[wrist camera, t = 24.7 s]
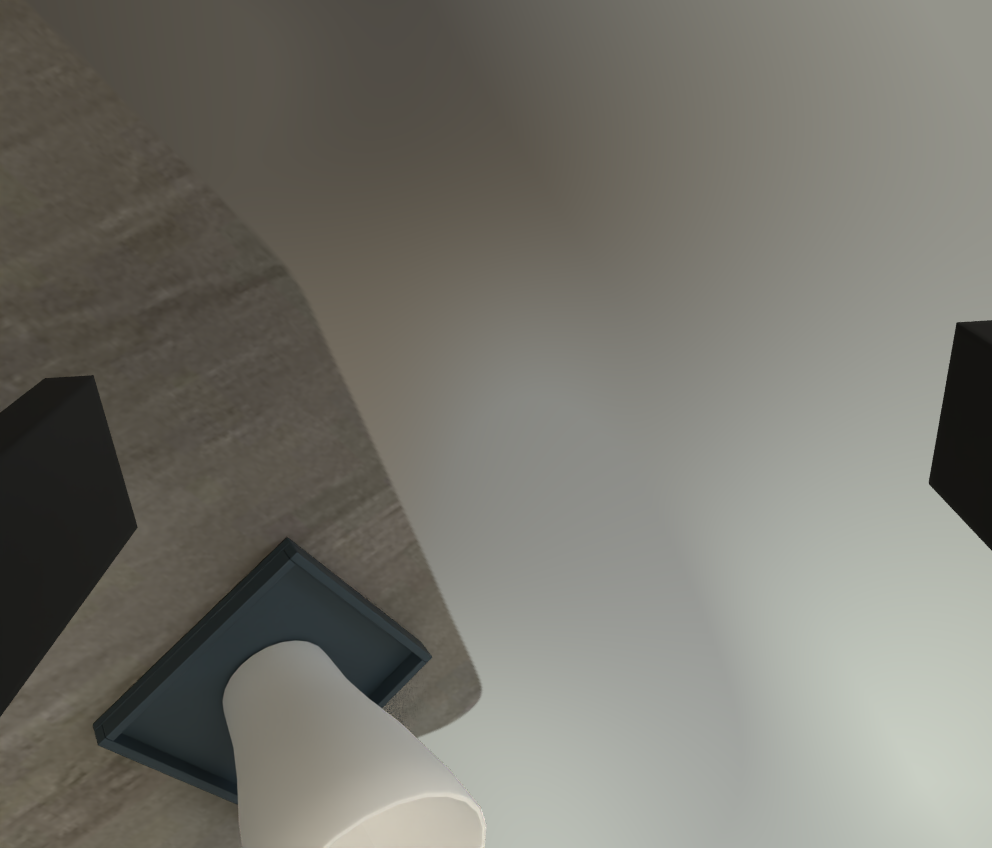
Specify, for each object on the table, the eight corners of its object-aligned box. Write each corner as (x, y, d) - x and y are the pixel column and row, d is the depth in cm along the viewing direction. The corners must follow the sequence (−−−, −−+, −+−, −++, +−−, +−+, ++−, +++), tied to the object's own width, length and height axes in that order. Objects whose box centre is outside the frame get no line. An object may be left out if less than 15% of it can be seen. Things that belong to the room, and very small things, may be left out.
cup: (320, 569, 44) (445, 750, 34) (391, 678, 51) (513, 858, 41) (137, 692, 41) (214, 929, 31) (237, 792, 48) (327, 1014, 38)
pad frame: (286, 536, 43) (297, 552, 42) (421, 641, 51) (432, 657, 50) (91, 724, 41) (97, 745, 40) (263, 800, 50) (272, 819, 49)
